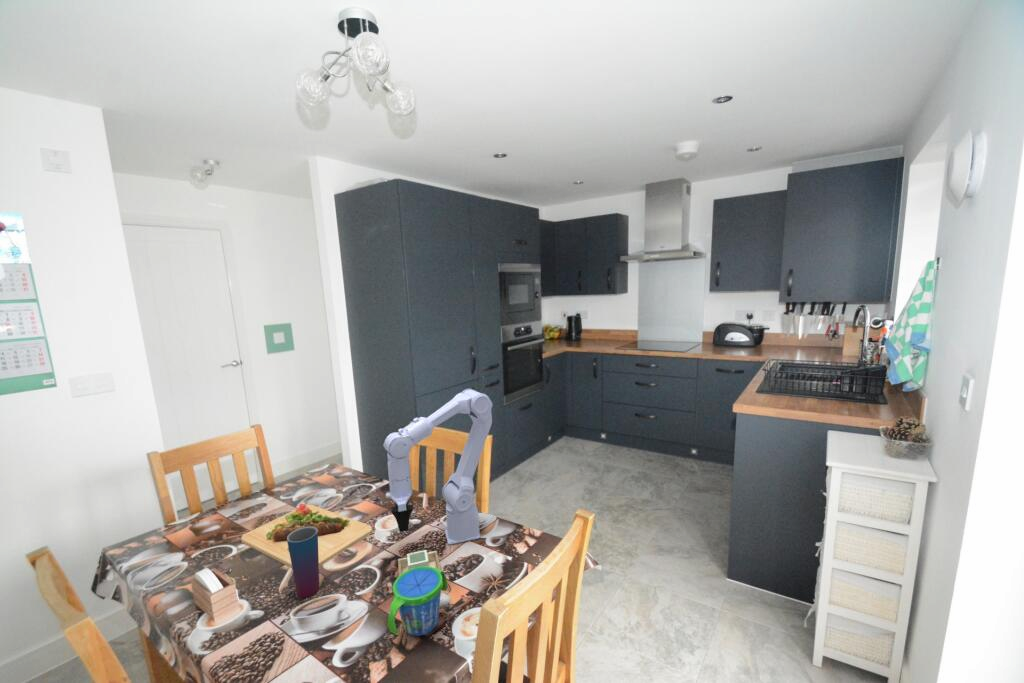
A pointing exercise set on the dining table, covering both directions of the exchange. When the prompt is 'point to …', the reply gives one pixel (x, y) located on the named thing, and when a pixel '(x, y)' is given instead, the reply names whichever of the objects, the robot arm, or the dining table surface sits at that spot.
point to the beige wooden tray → (431, 558)
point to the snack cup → (417, 600)
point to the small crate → (417, 559)
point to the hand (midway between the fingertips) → (403, 523)
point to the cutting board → (332, 527)
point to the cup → (304, 560)
